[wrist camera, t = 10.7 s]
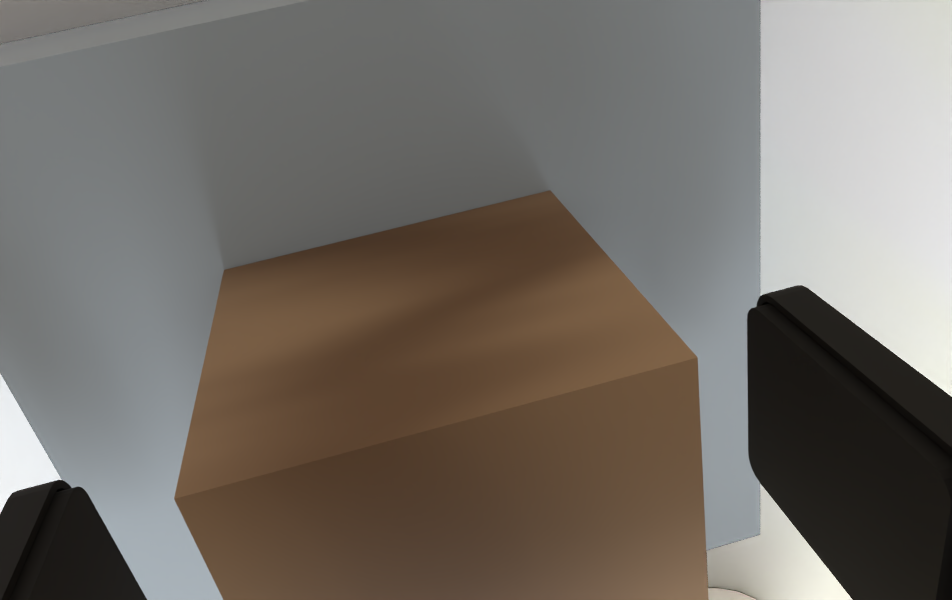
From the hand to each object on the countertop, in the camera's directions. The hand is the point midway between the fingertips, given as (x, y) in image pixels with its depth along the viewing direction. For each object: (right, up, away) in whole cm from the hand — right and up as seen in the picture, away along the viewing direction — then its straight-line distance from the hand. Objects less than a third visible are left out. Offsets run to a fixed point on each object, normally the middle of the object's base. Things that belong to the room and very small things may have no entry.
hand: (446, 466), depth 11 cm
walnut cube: (0, +1, +2) cm, 2 cm away
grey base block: (-1, +3, +6) cm, 6 cm away
